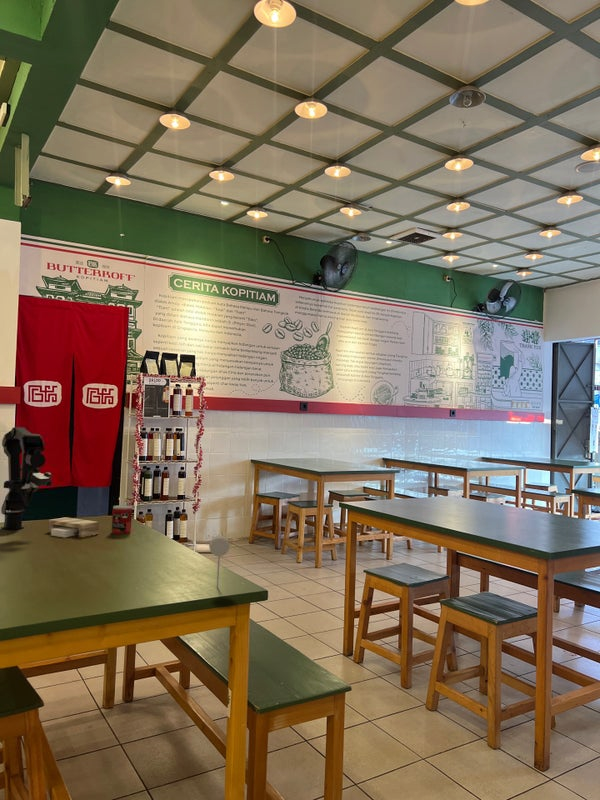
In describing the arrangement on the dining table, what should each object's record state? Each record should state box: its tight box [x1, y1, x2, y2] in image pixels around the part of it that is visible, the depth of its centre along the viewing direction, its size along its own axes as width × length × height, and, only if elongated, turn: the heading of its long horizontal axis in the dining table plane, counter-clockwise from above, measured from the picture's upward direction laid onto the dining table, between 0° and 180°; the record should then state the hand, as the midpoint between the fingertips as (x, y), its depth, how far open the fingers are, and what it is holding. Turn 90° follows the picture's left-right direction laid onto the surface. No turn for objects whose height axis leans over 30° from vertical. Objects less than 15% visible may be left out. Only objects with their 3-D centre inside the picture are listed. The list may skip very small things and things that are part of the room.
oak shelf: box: [48, 517, 100, 538], centre depth 246 cm, size 18×9×5 cm, turn 66°
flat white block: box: [50, 526, 79, 538], centre depth 244 cm, size 7×12×2 cm, turn 156°
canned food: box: [111, 504, 133, 535], centre depth 252 cm, size 8×8×11 cm
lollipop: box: [208, 535, 231, 588], centre depth 177 cm, size 6×6×15 cm
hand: (26, 505), depth 236 cm, fingers closed
